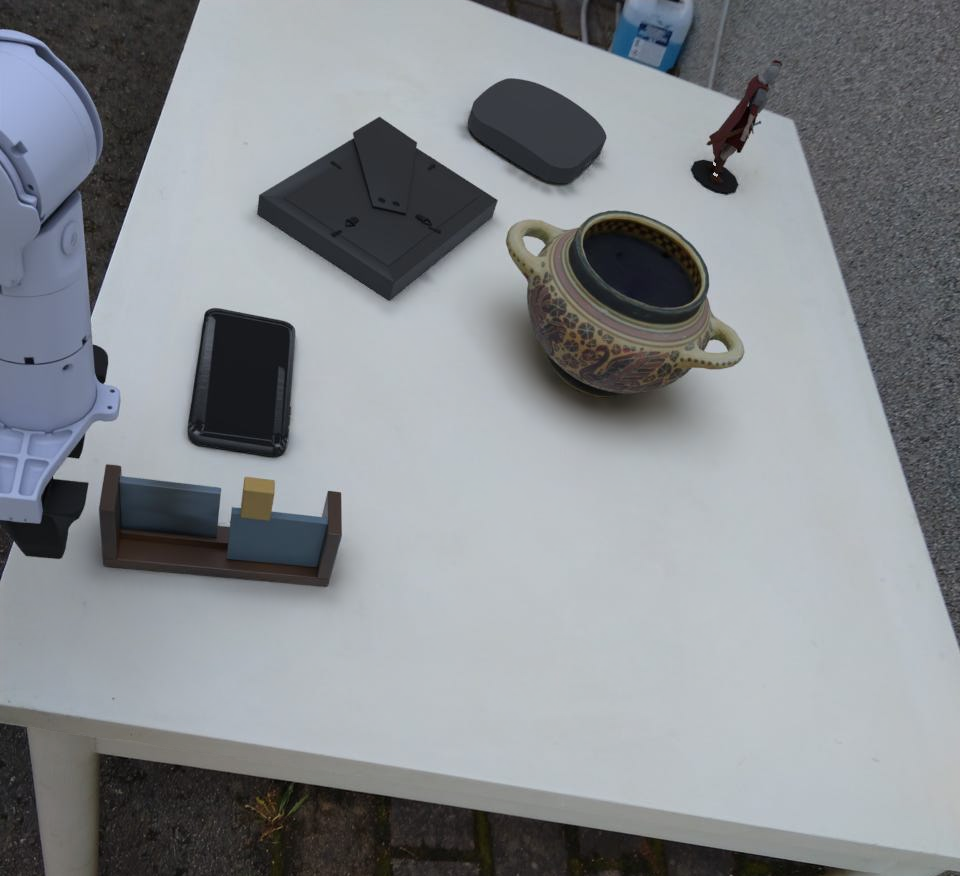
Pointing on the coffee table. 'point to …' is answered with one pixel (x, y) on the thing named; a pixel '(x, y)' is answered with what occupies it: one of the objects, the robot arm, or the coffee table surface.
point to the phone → (243, 383)
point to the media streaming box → (537, 129)
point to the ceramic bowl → (620, 303)
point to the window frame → (191, 532)
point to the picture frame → (378, 208)
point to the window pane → (272, 530)
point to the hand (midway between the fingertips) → (53, 501)
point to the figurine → (735, 133)
